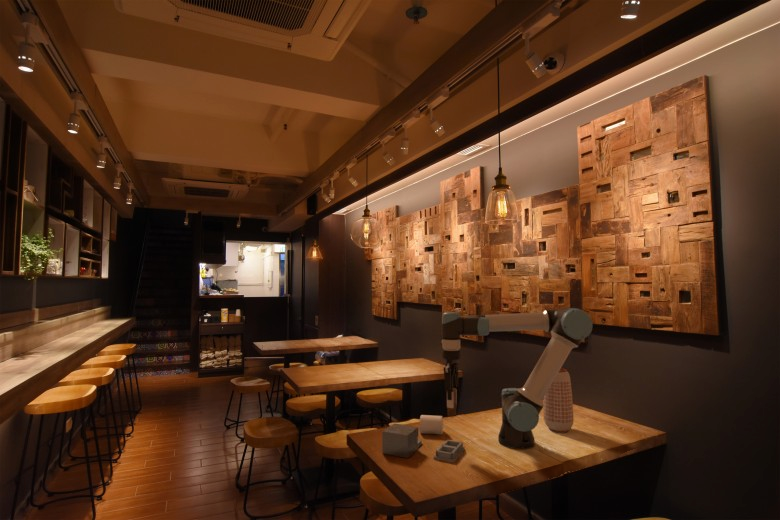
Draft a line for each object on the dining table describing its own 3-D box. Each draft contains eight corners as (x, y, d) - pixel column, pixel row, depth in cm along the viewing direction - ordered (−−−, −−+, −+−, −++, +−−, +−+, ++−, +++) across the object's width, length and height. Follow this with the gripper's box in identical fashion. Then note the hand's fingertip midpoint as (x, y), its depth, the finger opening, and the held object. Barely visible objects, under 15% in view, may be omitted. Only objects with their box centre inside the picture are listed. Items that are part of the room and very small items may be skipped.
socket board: (464, 449, 176) (464, 442, 176) (453, 462, 163) (453, 454, 163) (446, 446, 180) (446, 439, 180) (433, 459, 166) (433, 451, 167)
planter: (543, 431, 198) (541, 370, 200) (544, 423, 210) (542, 366, 212) (574, 435, 193) (572, 372, 195) (573, 426, 205) (571, 367, 207)
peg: (457, 414, 176) (457, 387, 177) (454, 417, 173) (454, 389, 174) (449, 413, 178) (449, 386, 179) (446, 415, 175) (446, 388, 175)
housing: (418, 448, 177) (418, 427, 177) (407, 458, 167) (407, 435, 167) (394, 444, 182) (394, 423, 182) (382, 453, 172) (382, 431, 172)
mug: (441, 437, 191) (441, 419, 192) (419, 435, 193) (419, 417, 194) (443, 428, 203) (443, 411, 203) (423, 427, 205) (422, 410, 205)
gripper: (448, 346, 186) (449, 400, 185) (436, 351, 172) (436, 410, 170) (465, 347, 183) (466, 402, 181) (453, 352, 168) (454, 412, 167)
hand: (451, 406), depth 176 cm, fingers closed on peg, 3 cm apart
